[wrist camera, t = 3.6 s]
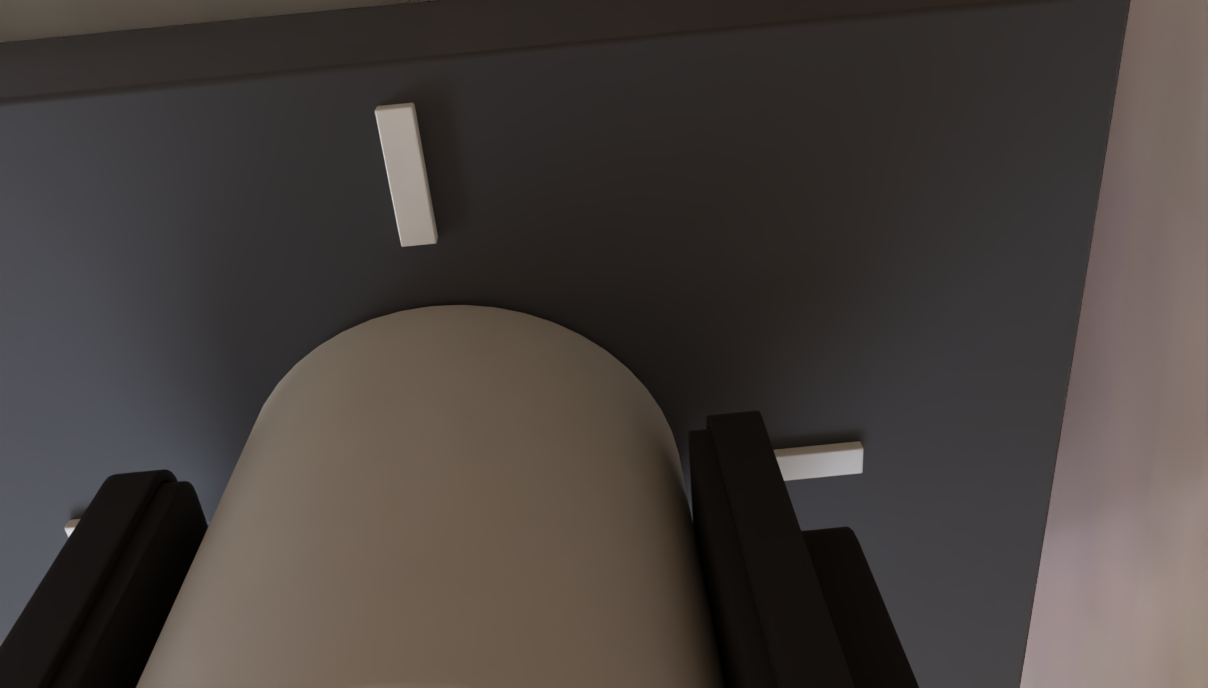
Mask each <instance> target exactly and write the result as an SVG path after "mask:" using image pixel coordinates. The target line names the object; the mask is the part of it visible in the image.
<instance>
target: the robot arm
mask: <svg viewBox="0 0 1208 688" xmlns="http://www.w3.org/2000/svg"><path fill="white" fill-rule="evenodd" d="M688 438H689V459H690V478H691V497H692V516H693V526H694V531H695V536H696V541H697V546H698V551H699V556H700V561H701V566H702V571H703V576H704V581H705V586H706V591H707V596H708V601H709V606H710V611H711V616H712V621H713V626H714V631H715V636H716V641H717V646H718V651H719V655H720V660H721V665H722V670H723V675H724V680H725V685H726V688H919V686H918V683H917V681H916V678H915V676H914V673H913V671H912V669H911V666H910V664H909V661H908V659H907V657H906V654H905V652H904V649H903V647H902V644H901V642H900V640H899V637H898V635H897V632H896V630H895V628H894V625H893V623H892V620H891V618H890V615H889V613H888V611H887V608H886V606H885V603H884V601H883V599H882V596H881V594H880V591H879V589H878V586H877V584H876V582H875V579H874V577H873V574H872V572H871V570H870V567H869V565H868V562H867V560H866V557H865V555H864V553H863V550H862V548H861V545H860V543H859V541H858V539H857V537H856V535H855V533H854V531H853V530H852V529H851V528H850V527H849V526H846V527H836V528H826V529H816V530H806V531H801V529H800V526H799V523H798V520H797V517H796V514H795V511H794V508H793V505H792V502H791V500H790V497H789V494H788V491H787V488H786V485H785V482H784V479H783V476H782V473H781V470H780V467H779V465H778V462H777V459H776V456H775V453H774V450H773V447H772V444H771V441H770V438H769V435H768V432H767V430H766V427H765V424H764V421H763V418H762V415H761V413H760V411H758V410H756V411H746V412H736V413H726V414H716V415H708V416H707V422H706V429H702V430H692V431H689V436H688ZM207 529H208V525H207V522H206V519H205V516H204V513H203V510H202V507H201V504H200V502H199V499H198V496H197V493H196V491H195V489H194V486H193V485H192V484H191V483H190V482H188V481H179V482H178V480H177V478H176V476H175V475H174V474H173V473H172V472H171V471H169V470H166V469H162V470H152V471H142V472H132V473H122V474H114V475H111V476H109V477H108V478H107V479H106V480H105V481H104V482H103V484H102V486H101V487H100V489H99V490H98V492H97V493H96V495H95V497H94V498H93V500H92V501H91V503H90V505H89V506H88V508H87V509H86V511H85V513H84V514H83V516H82V517H81V519H80V521H79V522H78V524H77V525H76V527H75V529H74V530H73V532H72V533H71V535H70V536H69V538H68V540H67V541H66V543H65V544H64V546H63V548H62V549H61V551H60V552H59V554H58V556H57V557H56V559H55V560H54V562H53V564H52V565H51V567H50V568H49V570H48V572H47V573H46V575H45V576H44V578H43V579H42V581H41V583H40V584H39V586H38V587H37V589H36V591H35V592H34V594H33V595H32V597H31V599H30V600H29V602H28V603H27V605H26V607H25V608H24V610H23V611H22V613H21V615H20V616H19V618H18V619H17V621H16V622H15V624H14V626H13V627H12V629H11V630H10V632H9V634H8V635H7V637H6V638H5V640H4V642H3V643H2V645H1V646H0V688H136V686H137V684H138V682H139V680H140V677H141V675H142V673H143V671H144V669H145V666H146V664H147V662H148V660H149V657H150V655H151V653H152V651H153V649H154V646H155V644H156V642H157V640H158V637H159V635H160V633H161V631H162V629H163V626H164V624H165V622H166V620H167V618H168V615H169V613H170V611H171V609H172V606H173V604H174V602H175V600H176V598H177V595H178V593H179V591H180V589H181V586H182V584H183V582H184V580H185V578H186V575H187V573H188V571H189V569H190V566H191V564H192V562H193V560H194V558H195V555H196V553H197V551H198V549H199V546H200V544H201V542H202V540H203V538H204V535H205V533H206V531H207Z"/></svg>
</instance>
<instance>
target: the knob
mask: <svg viewBox="0 0 1208 688" xmlns="http://www.w3.org/2000/svg"><path fill="white" fill-rule="evenodd" d="M136 688H726V685H725V680H724V675H723V670H722V665H721V660H720V655H719V651H718V646H717V641H716V636H715V631H714V626H713V621H712V616H711V611H710V606H709V601H708V596H707V591H706V586H705V581H704V576H703V571H702V566H701V561H700V556H699V551H698V546H697V541H696V536H695V531H694V526H693V521H692V516H691V511H690V507H689V502H688V497H687V492H686V487H685V482H684V477H683V472H682V467H681V462H680V457H679V453H678V449H677V446H676V443H675V440H674V436H673V433H672V431H671V429H670V426H669V424H668V422H667V420H666V418H665V416H664V414H663V412H662V410H661V408H660V407H659V406H658V404H657V403H656V401H655V400H654V398H653V397H652V395H651V394H650V393H649V391H648V390H647V388H646V387H645V386H644V385H643V384H642V383H641V382H640V381H639V380H638V379H637V377H636V376H635V375H634V374H633V373H632V372H631V371H630V370H629V369H628V368H627V367H626V366H624V365H623V364H622V363H621V362H620V361H618V360H617V359H616V358H615V357H613V356H612V355H611V354H610V353H609V352H607V351H606V350H604V349H603V348H601V347H600V346H598V345H596V344H595V343H593V342H591V341H590V340H588V339H587V338H585V337H583V336H582V335H580V334H578V333H576V332H574V331H571V330H569V329H567V328H565V327H563V326H560V325H558V324H556V323H554V322H551V321H548V320H545V319H542V318H538V317H535V316H532V315H529V314H526V313H522V312H516V311H511V310H506V309H501V308H496V307H485V306H472V305H445V306H429V307H423V308H416V309H410V310H404V311H399V312H396V313H392V314H389V315H385V316H382V317H378V318H375V319H371V320H369V321H367V322H364V323H362V324H360V325H357V326H355V327H353V328H350V329H348V330H346V331H343V332H341V333H340V334H338V335H336V336H335V337H333V338H331V339H330V340H328V341H326V342H325V343H323V344H321V345H320V346H318V347H317V348H315V349H314V350H313V351H312V352H310V353H309V354H308V355H307V356H305V357H304V358H303V359H302V360H300V361H299V362H298V363H297V364H296V365H295V366H294V367H293V368H292V369H291V370H290V371H289V372H288V373H287V374H286V375H285V376H284V378H283V379H282V380H281V381H280V382H279V383H278V384H277V386H276V387H275V389H274V390H273V392H272V393H271V395H270V396H269V398H268V399H267V400H266V402H265V403H264V405H263V407H262V409H261V411H260V414H259V416H258V418H257V420H256V422H255V424H254V427H253V429H252V431H251V433H250V435H249V438H248V440H247V442H246V444H245V447H244V449H243V451H242V453H241V455H240V458H239V460H238V462H237V464H236V467H235V469H234V471H233V473H232V475H231V478H230V480H229V482H228V484H227V487H226V489H225V491H224V493H223V495H222V498H221V500H220V502H219V504H218V507H217V509H216V511H215V513H214V515H213V518H212V520H211V522H210V524H209V526H208V529H207V531H206V533H205V535H204V538H203V540H202V542H201V544H200V546H199V549H198V551H197V553H196V555H195V558H194V560H193V562H192V564H191V566H190V569H189V571H188V573H187V575H186V578H185V580H184V582H183V584H182V586H181V589H180V591H179V593H178V595H177V598H176V600H175V602H174V604H173V606H172V609H171V611H170V613H169V615H168V618H167V620H166V622H165V624H164V626H163V629H162V631H161V633H160V635H159V637H158V640H157V642H156V644H155V646H154V649H153V651H152V653H151V655H150V657H149V660H148V662H147V664H146V666H145V669H144V671H143V673H142V675H141V677H140V680H139V682H138V684H137V686H136Z"/></svg>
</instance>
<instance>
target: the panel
mask: <svg viewBox="0 0 1208 688" xmlns="http://www.w3.org/2000/svg"><path fill="white" fill-rule="evenodd" d="M1129 6H1130V0H436V1H425V2H415V3H405V4H395V5H384V6H374V7H364V8H353V9H343V10H333V11H323V12H312V13H302V14H292V15H281V16H271V17H261V18H251V19H240V20H230V21H220V22H209V23H199V24H189V25H179V26H168V27H158V28H148V29H138V30H127V31H117V32H107V33H96V34H86V35H76V36H66V37H55V38H45V39H35V40H24V41H14V42H4V43H0V646H1V645H2V643H3V642H4V640H5V638H6V637H7V635H8V634H9V632H10V630H11V629H12V627H13V626H14V624H15V622H16V621H17V619H18V618H19V616H20V615H21V613H22V611H23V610H24V608H25V607H26V605H27V603H28V602H29V600H30V599H31V597H32V595H33V594H34V592H35V591H36V589H37V587H38V586H39V584H40V583H41V581H42V579H43V578H44V576H45V575H46V573H47V572H48V570H49V568H50V567H51V565H52V564H53V562H54V560H55V559H56V557H57V556H58V554H59V552H60V551H61V549H62V548H63V546H64V544H65V543H66V541H67V540H68V538H69V536H70V535H71V533H72V532H73V530H74V529H75V527H76V525H77V524H78V522H79V521H80V519H81V517H82V516H83V514H84V513H85V511H86V509H87V508H88V506H89V505H90V503H91V501H92V500H93V498H94V497H95V495H96V493H97V492H98V490H99V489H100V487H101V486H102V484H103V482H104V481H105V480H106V479H107V478H108V477H109V476H111V475H114V474H122V473H132V472H142V471H152V470H162V469H166V470H169V471H171V472H172V473H173V474H174V475H175V476H176V478H177V480H178V482H179V481H188V482H190V483H191V484H192V485H193V486H194V489H195V491H196V493H197V496H198V499H199V502H200V504H201V507H202V510H203V513H204V516H205V519H206V522H207V525H208V526H209V524H210V522H211V520H212V518H213V515H214V513H215V511H216V509H217V507H218V504H219V502H220V500H221V498H222V495H223V493H224V491H225V489H226V487H227V484H228V482H229V480H230V478H231V475H232V473H233V471H234V469H235V467H236V464H237V462H238V460H239V458H240V455H241V453H242V451H243V449H244V447H245V444H246V442H247V440H248V438H249V435H250V433H251V431H252V429H253V427H254V424H255V422H256V420H257V418H258V416H259V414H260V411H261V409H262V407H263V405H264V403H265V402H266V400H267V399H268V398H269V396H270V395H271V393H272V392H273V390H274V389H275V387H276V386H277V384H278V383H279V382H280V381H281V380H282V379H283V378H284V376H285V375H286V374H287V373H288V372H289V371H290V370H291V369H292V368H293V367H294V366H295V365H296V364H297V363H298V362H299V361H300V360H302V359H303V358H304V357H305V356H307V355H308V354H309V353H310V352H312V351H313V350H314V349H315V348H317V347H318V346H320V345H321V344H323V343H325V342H326V341H328V340H330V339H331V338H333V337H335V336H336V335H338V334H340V333H341V332H343V331H346V330H348V329H350V328H353V327H355V326H357V325H360V324H362V323H364V322H367V321H369V320H371V319H375V318H378V317H382V316H385V315H389V314H392V313H396V312H399V311H404V310H410V309H416V308H423V307H429V306H445V305H472V306H485V307H496V308H501V309H506V310H511V311H516V312H522V313H526V314H529V315H532V316H535V317H538V318H542V319H545V320H548V321H551V322H554V323H556V324H558V325H560V326H563V327H565V328H567V329H569V330H571V331H574V332H576V333H578V334H580V335H582V336H583V337H585V338H587V339H588V340H590V341H591V342H593V343H595V344H596V345H598V346H600V347H601V348H603V349H604V350H606V351H607V352H609V353H610V354H611V355H612V356H613V357H615V358H616V359H617V360H618V361H620V362H621V363H622V364H623V365H624V366H626V367H627V368H628V369H629V370H630V371H631V372H632V373H633V374H634V375H635V376H636V377H637V379H638V380H639V381H640V382H641V383H642V384H643V385H644V386H645V387H646V388H647V390H648V391H649V393H650V394H651V395H652V397H653V398H654V400H655V401H656V403H657V404H658V406H659V407H660V408H661V410H662V412H663V414H664V416H665V418H666V420H667V422H668V424H669V426H670V429H671V431H672V433H673V436H674V440H675V443H676V446H677V449H678V453H679V457H680V462H681V467H682V472H683V477H684V482H685V487H686V492H687V497H688V502H689V507H690V511H691V516H692V497H691V478H690V459H689V438H688V436H689V431H692V430H702V429H706V422H707V416H708V415H716V414H726V413H736V412H746V411H756V410H758V411H760V413H761V415H762V418H763V421H764V424H765V427H766V430H767V432H768V435H769V438H770V441H771V444H772V447H773V450H774V453H775V456H776V459H777V462H778V465H779V467H780V470H781V473H782V476H783V479H784V482H785V485H786V488H787V491H788V494H789V497H790V500H791V502H792V505H793V508H794V511H795V514H796V517H797V520H798V523H799V526H800V529H801V531H806V530H816V529H826V528H836V527H846V526H849V527H850V528H851V529H852V530H853V531H854V533H855V535H856V537H857V539H858V541H859V543H860V545H861V548H862V550H863V553H864V555H865V557H866V560H867V562H868V565H869V567H870V570H871V572H872V574H873V577H874V579H875V582H876V584H877V586H878V589H879V591H880V594H881V596H882V599H883V601H884V603H885V606H886V608H887V611H888V613H889V615H890V618H891V620H892V623H893V625H894V628H895V630H896V632H897V635H898V637H899V640H900V642H901V644H902V647H903V649H904V652H905V654H906V657H907V659H908V661H909V664H910V666H911V669H912V671H913V673H914V676H915V678H916V681H917V683H918V686H919V688H1020V682H1021V676H1022V670H1023V664H1024V658H1025V651H1026V645H1027V639H1028V633H1029V627H1030V620H1031V614H1032V608H1033V602H1034V596H1035V589H1036V583H1037V577H1038V571H1039V565H1040V558H1041V552H1042V546H1043V540H1044V534H1045V527H1046V521H1047V515H1048V509H1049V503H1050V496H1051V490H1052V484H1053V478H1054V472H1055V465H1056V459H1057V453H1058V447H1059V441H1060V434H1061V428H1062V422H1063V416H1064V410H1065V403H1066V397H1067V391H1068V385H1069V379H1070V372H1071V366H1072V360H1073V354H1074V348H1075V341H1076V335H1077V329H1078V323H1079V317H1080V310H1081V304H1082V298H1083V292H1084V286H1085V279H1086V273H1087V267H1088V261H1089V254H1090V248H1091V242H1092V236H1093V230H1094V223H1095V217H1096V211H1097V205H1098V199H1099V192H1100V186H1101V180H1102V174H1103V168H1104V161H1105V155H1106V149H1107V143H1108V137H1109V130H1110V124H1111V118H1112V112H1113V106H1114V99H1115V93H1116V87H1117V81H1118V75H1119V68H1120V62H1121V56H1122V50H1123V44H1124V37H1125V31H1126V25H1127V19H1128V13H1129ZM692 521H693V516H692Z"/></svg>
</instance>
